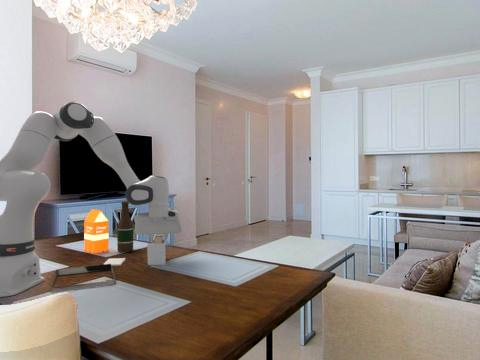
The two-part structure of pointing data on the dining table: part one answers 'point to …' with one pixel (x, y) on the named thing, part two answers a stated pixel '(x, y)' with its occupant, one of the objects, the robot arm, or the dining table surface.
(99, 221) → the orange juice
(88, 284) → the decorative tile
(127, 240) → the beer bottle
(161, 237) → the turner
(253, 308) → the dining table surface
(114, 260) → the mat
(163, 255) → the tile
